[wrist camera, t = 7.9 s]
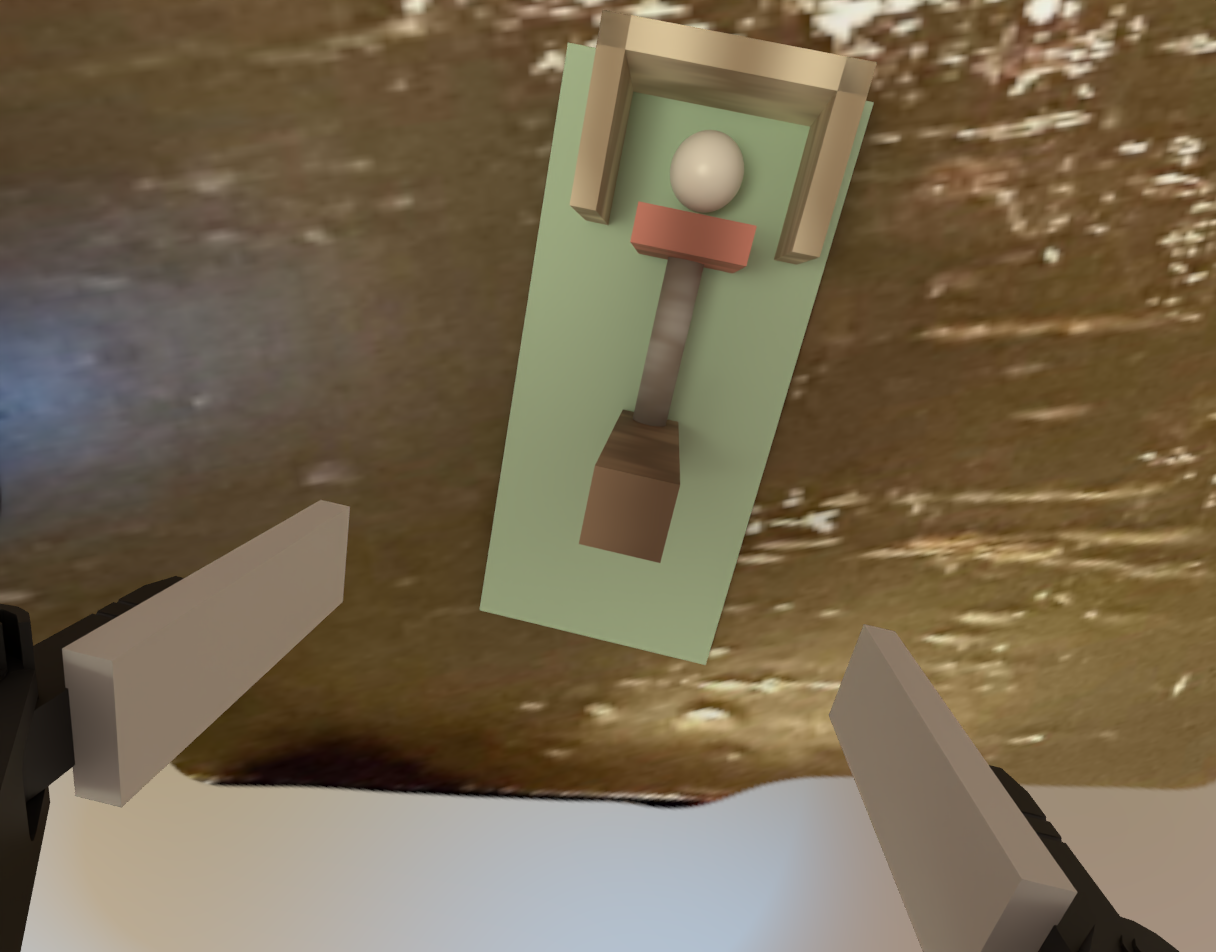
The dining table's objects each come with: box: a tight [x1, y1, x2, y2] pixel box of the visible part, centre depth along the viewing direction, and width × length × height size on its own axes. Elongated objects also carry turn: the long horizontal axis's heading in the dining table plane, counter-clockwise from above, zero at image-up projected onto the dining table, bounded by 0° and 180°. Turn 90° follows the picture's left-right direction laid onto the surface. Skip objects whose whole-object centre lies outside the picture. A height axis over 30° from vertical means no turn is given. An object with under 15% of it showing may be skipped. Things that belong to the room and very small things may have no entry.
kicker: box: [579, 201, 757, 563], centre depth 26 cm, size 5×13×12 cm, turn 168°
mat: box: [480, 43, 874, 665], centre depth 33 cm, size 15×32×1 cm, turn 168°
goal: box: [570, 10, 877, 265], centre depth 27 cm, size 11×7×5 cm, turn 78°
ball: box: [670, 130, 744, 213], centre depth 28 cm, size 4×4×4 cm
